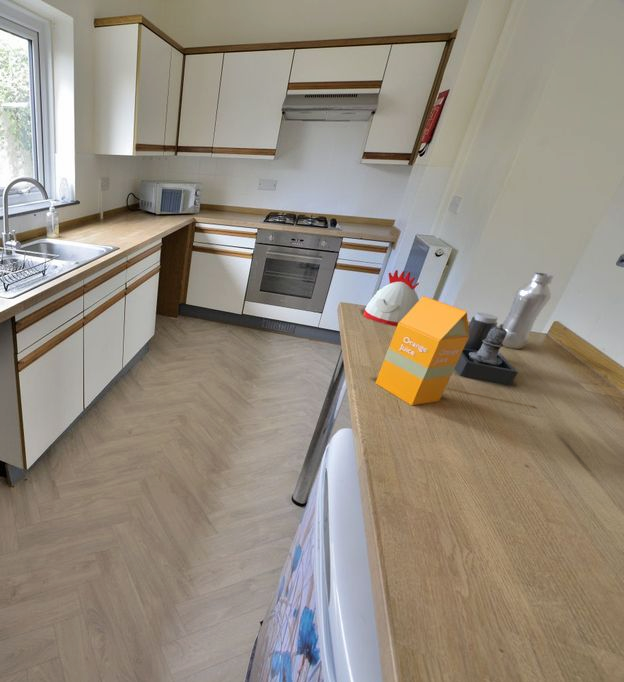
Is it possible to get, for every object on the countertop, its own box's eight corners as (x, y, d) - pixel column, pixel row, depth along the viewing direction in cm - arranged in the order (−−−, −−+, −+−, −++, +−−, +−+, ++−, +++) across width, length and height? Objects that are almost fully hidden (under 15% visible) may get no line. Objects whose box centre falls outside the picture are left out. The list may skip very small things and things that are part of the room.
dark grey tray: (482, 356, 104) (489, 341, 103) (509, 388, 90) (518, 372, 88) (440, 348, 108) (446, 334, 106) (459, 377, 93) (466, 362, 91)
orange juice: (411, 405, 82) (451, 312, 73) (374, 383, 89) (407, 296, 81) (440, 400, 84) (482, 310, 75) (401, 379, 91) (436, 294, 83)
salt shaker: (491, 380, 91) (517, 331, 86) (459, 369, 95) (482, 322, 90) (497, 372, 95) (522, 325, 89) (466, 362, 99) (488, 316, 93)
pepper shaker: (475, 355, 103) (496, 314, 98) (482, 363, 99) (503, 321, 94) (453, 351, 105) (471, 310, 100) (458, 358, 101) (478, 317, 96)
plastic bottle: (500, 349, 108) (537, 276, 100) (486, 339, 114) (520, 269, 106) (528, 353, 107) (569, 279, 98) (512, 342, 113) (549, 272, 104)
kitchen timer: (376, 308, 134) (392, 263, 127) (423, 322, 124) (443, 274, 117) (355, 315, 127) (370, 268, 120) (403, 331, 117) (423, 281, 110)
